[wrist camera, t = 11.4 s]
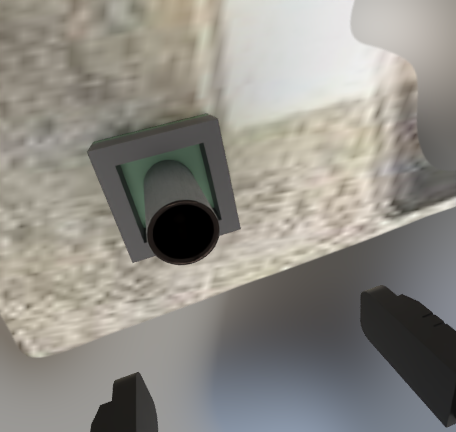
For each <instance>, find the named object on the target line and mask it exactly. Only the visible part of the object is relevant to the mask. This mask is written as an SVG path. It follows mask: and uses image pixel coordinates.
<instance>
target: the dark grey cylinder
mask: <svg viewBox="0 0 456 432" xmlns="http://www.w3.org/2000/svg"><path fill="white" fill-rule="evenodd" d="M144 203H145V219H146V235H147V242H148V245H149V247H150V249H151V250H152V252H153V253H154V254H155V255H156V256H157V257H158V258H159V259H161V260H163V261H165V262H167V263H170V264H175V265H187V264H192V263H195V262H197V261H199V260H201V259H203V258H204V257H206V256H207V255H208V254H209V253H210V252H211V251H212V250H213V248H214V247H215V245H216V243H217V241H218V238H219V234H220V225H219V221H218V218H217V216H216V214H215V212H214V211H213V209H212V207H211V205H210V204H209V202H208V200H207V199H206V197H205V195H204V193H203V192H202V190H201V188H200V186H199V185H198V183H197V181H196V179H195V178H194V176H193V174H192V173H191V171H190V170H189V169H188V168H187V167H186V166H185V165H184V164H182V163H181V162H178V161H175V160H163V161H160V162H158V163H156V164H154V165H153V166H152V167H151V168H150V169H149V170H148V171H147V173H146V175H145V178H144Z"/></svg>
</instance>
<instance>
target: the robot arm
mask: <svg viewBox="0 0 456 432" xmlns="http://www.w3.org/2000/svg"><path fill="white" fill-rule="evenodd" d="M360 322H361V327H362V330H363V332H364V334H365V336H366V337H367V338H368V340H369V341H370V342H371V343H372V344H373V346H374V347H375V348H376V349H377V350H378V351H379V352H380V353H381V355H382V356H383V357H384V358H385V359H386V360H387V361H388V362H389V364H390V365H391V366H392V367H393V368H394V369H395V370H396V371H397V373H398V374H399V375H400V376H401V377H402V378H403V379H404V381H405V382H406V383H407V384H408V385H409V386H410V387H411V389H412V390H413V391H414V392H415V393H416V394H417V395H418V396H419V397H420V399H421V400H422V401H423V402H424V403H425V404H426V405H427V406H428V408H429V409H430V410H431V411H432V412H433V413H434V415H435V416H436V417H437V418H438V419H439V420H440V421H441V422H442V424H443V425H444V426H445V427H449V426H451V425H453V424H455V423H456V331H455V330H454V329H453V328H451V327H450V326H449V325H448V324H445V323H444V321H443V320H441V319H440V318H439V317H438V316H436V315H433V313H432V312H431V311H430V310H429V309H427V308H426V307H425V306H424V305H422V304H421V303H420V302H419V301H416V300H414V299H412V298H410V297H407V296H405V295H403V294H401V295H399V296H397V295H395V294H394V293H393V292H392V291H391V290H389V289H388V288H387V287H386V286H383V285H380V286H377V287H374V288H372V289H369V290H366V291H363V292H362V293H361V318H360ZM90 432H158V422H157V414H156V409H155V405H154V402H153V399H152V397H151V395H150V393H149V391H148V389H147V387H146V385H145V383H144V380H143V378H142V376H141V374H140V373H139V372H137V373H134V374H131V375H129V376H126V377H123V378H120V379H117V380H115V381H114V384H113V394H112V401H111V402H108V403H105V404H102V405H100V407H99V409H98V412H97V414H96V416H95V418H94V420H93V422H92V424H91V431H90Z"/></svg>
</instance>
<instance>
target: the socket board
mask: <svg viewBox="0 0 456 432" xmlns="http://www.w3.org/2000/svg"><path fill="white" fill-rule="evenodd" d="M87 153H88V156H89V158H90V160H91V163H92V165H93V168H94V170H95V173H96V175H97V177H98V180H99V182H100V185H101V187H102V190H103V192H104V194H105V197H106V199H107V202H108V204H109V207H110V209H111V211H112V214H113V216H114V219H115V221H116V224H117V226H118V228H119V231H120V233H121V236H122V238H123V241H124V243H125V245H126V248H127V250H128V253H129V255H130V258H131V260H132V262H133V263H134V262H137V261H141V260H144V259H147V258H150V257H153V256H156V255H155V254H154V253H153V252H152V250H151V249H150V247H149V245H148V242H147V235H146V219H145V203H144V178H145V175H146V173H147V171H148V170H149V169H150V168H151V167H152V166H153V165H154V164H156V163H158V162H160V161H163V160H175V161H178V162H181V163H182V164H184V165H185V166H186V167H187V168H188V169H189V170H190V171H191V173H192V174H193V176H194V178H195V179H196V181H197V183H198V185H199V186H200V188H201V190H202V192H203V193H204V195H205V197H206V199H207V200H208V202H209V204H210V205H211V207H212V209H213V211H214V212H215V214H216V216H217V218H218V221H219V225H220V234H219V236H220V235H223V234H227V233H230V232H233V231H236V230H239V229H241V228H240V223H239V218H238V214H237V209H236V204H235V199H234V194H233V189H232V185H231V180H230V175H229V170H228V165H227V161H226V156H225V151H224V146H223V141H222V137H221V132H220V127H219V122H218V119H217V118H215V117H213V116H211V115H209V114H204V115H200V116H196V117H192V118H188V119H184V120H180V121H176V122H172V123H168V124H164V125H160V126H156V127H152V128H148V129H144V130H140V131H136V132H132V133H128V134H124V135H120V136H116V137H112V138H108V139H104V140H100V141H96V142H93V144H92V145H91V147H90V148H89V150H88V151H87Z"/></svg>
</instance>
